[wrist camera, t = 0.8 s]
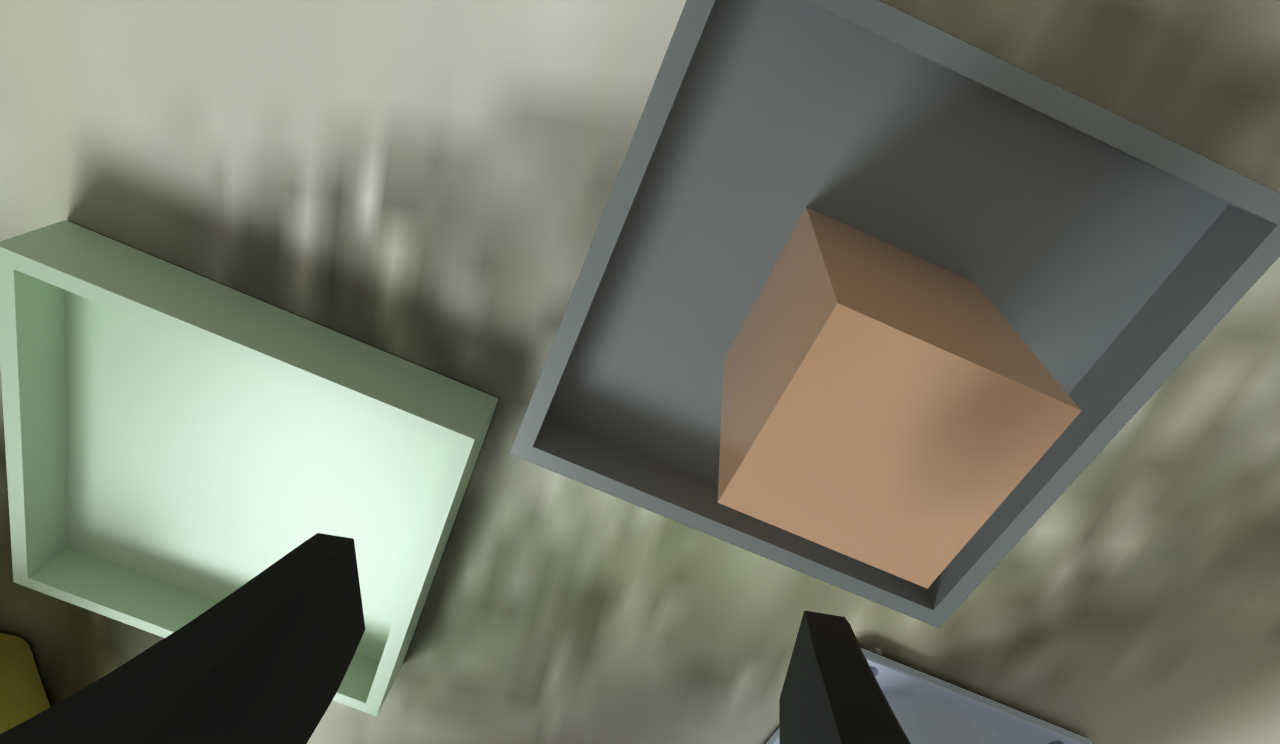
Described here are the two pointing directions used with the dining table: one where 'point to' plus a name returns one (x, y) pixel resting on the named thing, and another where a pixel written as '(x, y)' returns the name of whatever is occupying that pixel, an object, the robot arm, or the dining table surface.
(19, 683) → the flower pot
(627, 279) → the charcoal tray
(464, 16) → the dining table surface
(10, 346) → the green tray
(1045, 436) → the terracotta block
